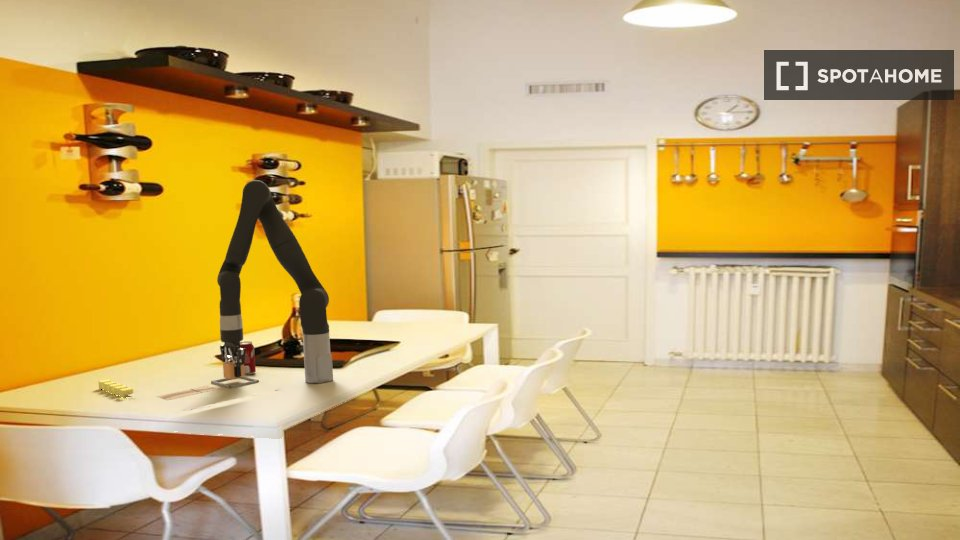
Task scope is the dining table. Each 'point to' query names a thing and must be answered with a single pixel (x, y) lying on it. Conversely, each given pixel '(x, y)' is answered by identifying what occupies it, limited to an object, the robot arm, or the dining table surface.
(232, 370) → the block
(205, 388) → the wooden board
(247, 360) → the soda can
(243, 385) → the tray
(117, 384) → the yellow flower cubes
